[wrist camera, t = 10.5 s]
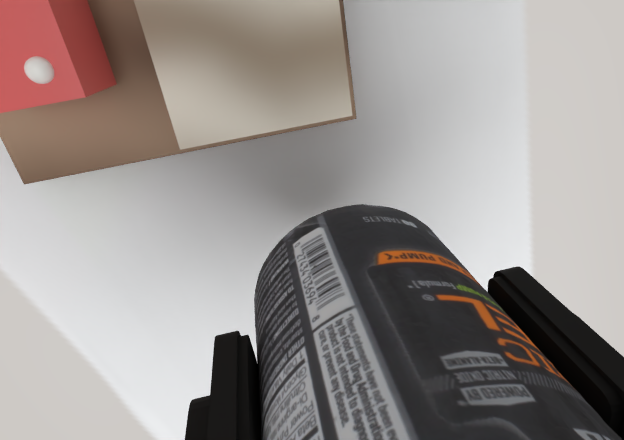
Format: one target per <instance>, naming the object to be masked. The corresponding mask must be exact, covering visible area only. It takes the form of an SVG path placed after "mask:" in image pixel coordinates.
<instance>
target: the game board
mask: <svg viewBox="0 0 624 440" xmlns="http://www.w3.org/2000/svg"><path fill="white" fill-rule="evenodd" d="M87 1H88V4H89V7H90V10H91V12H92V15H93V18H94V21H95V24H96V27H97V29H98V32H99V35H100V38H101V41H102V43H103V46H104V49H105V52H106V55H107V58H108V60H109V63H110V66H111V69H112V72H113V75H114V77H115V80H116V83H117V84H116V85H114V86H111V87H109V88H107V89H104V90H102V91H100V92H97V93H95V94H92V95H90V96H88V97H85V98H79V99H74V100H68V101H63V102H58V103H52V104H47V105H42V106H36V107H31V108H25V109H20V110H15V111H9V112H4V113H0V137H1V139H2V141H3V143H4V145H5V147H6V149H7V151H8V153H9V155H10V157H11V159H12V161H13V163H14V165H15V167H16V169H17V171H18V173H19V175H20V177H21V179H22V181H23V183H24V184H28V183H33V182H38V181H44V180H49V179H54V178H59V177H64V176H69V175H74V174H79V173H84V172H89V171H94V170H99V169H104V168H109V167H114V166H119V165H124V164H129V163H134V162H139V161H145V160H150V159H155V158H160V157H165V156H170V155H175V154H180V153H185V152H190V151H195V150H200V149H205V148H210V147H215V146H220V145H225V144H230V143H235V142H240V141H246V140H251V139H256V138H261V137H266V136H271V135H276V134H281V133H286V132H291V131H296V130H301V129H306V128H311V127H316V126H321V125H326V124H331V123H336V122H341V121H346V120H352V119H356V111H355V102H354V94H353V85H352V76H351V67H350V59H349V50H348V41H347V32H346V23H345V15H344V6H343V0H87Z"/></svg>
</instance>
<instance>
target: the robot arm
mask: <svg viewBox="0 0 624 440" xmlns="http://www.w3.org/2000/svg"><path fill="white" fill-rule="evenodd" d="M488 293H489V294H490V296H491V297H492V298H493V299H494V300H495V302H496V303H497V304H498V305H499V306H500V307H501V308H502V309H503V311H504V312H505V313H506V314H507V315H508V316H509V317H510V318H511V319H512V320H513V321H514V322H515V323H516V324H517V325H518V327H519V328H520V329H521V330H522V331H523V332H524V333H525V335H526V336H527V337H528V338H529V339H530V340H531V341H532V343H533V344H534V345H535V346H536V347H537V348H538V349H539V350H540V351H541V352H542V354H543V355H544V356H545V357H546V358H547V359H548V360H549V361H550V362H551V363H552V364H553V366H554V367H555V368H556V370H557V371H558V372H559V373H560V374H561V375H562V376H563V377H564V378H565V379H566V380H567V381H568V382H569V383H570V384H571V385H572V387H573V388H574V389H575V390H577V391H578V392H579V393H580V394H581V396H582V397H583V398H584V400H585V401H586V402H587V403H588V404H589V405H590V406H591V407H592V408H593V409H594V410H595V411H596V412H597V413H598V414H599V416H600V417H601V418H602V419H603V420H604V422H605V423H606V424H607V425H608V426H609V427H610V428H611V429H612V430H613V431H614V432H615V433H616V434H617V435H618V436H619V437H621V439H622V440H624V357H623V356H622V355H621V354H619V353H618V352H617V351H616V350H615V349H614V348H613V347H611V346H610V345H609V344H608V343H607V342H606V341H605V340H604V339H603V338H601V337H600V336H599V335H598V334H597V333H596V332H595V331H594V330H592V329H591V328H590V327H589V326H588V325H587V324H586V323H585V322H584V321H582V320H581V319H580V318H579V317H578V316H576V315H575V314H574V313H572V312H571V311H570V310H568V308H566V307H565V306H564V305H563V304H562V303H561V302H560V301H559V300H557V299H556V298H555V297H554V296H553V295H552V294H551V293H549V291H547V290H546V289H545V288H544V287H543V286H542V285H541V284H540V283H538V282H537V281H536V280H535V279H534V278H533V277H532V276H531V275H530V274H528V273H527V272H526V271H525V270H524V269H523V268H521V267H513V268H509V269H505V270H500V271H497V272H495V274H494V277H493V278H491V279H490V280H489V282H488ZM258 376H259V375H258V364H257V361H256V358H255V354H254V351H253V348H252V345H251V341H250V338H249V336H248V335H244V336H241V335H240V333H239V331H235V332H230V333H226V334H222V335H217V336H216V337H215V341H214V354H213V367H212V380H211V393H210V396H206V397H201V398H197V399H194V400H192V401H191V403H190V406H189V412H188V420H187V427H186V435H185V440H261V416H260V396H259V381H258Z"/></svg>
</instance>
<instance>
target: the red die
mask: <svg viewBox="0 0 624 440" xmlns="http://www.w3.org/2000/svg"><path fill="white" fill-rule="evenodd" d="M116 84H117V83H116V80H115V77H114V75H113V72H112V69H111V66H110V63H109V60H108V58H107V55H106V52H105V49H104V46H103V43H102V41H101V38H100V35H99V32H98V29H97V27H96V24H95V21H94V18H93V15H92V12H91V10H90V7H89V4H88V1H87V0H0V113H4V112H9V111H15V110H20V109H25V108H31V107H36V106H42V105H47V104H52V103H58V102H63V101H68V100H74V99H79V98H85V97H88V96H90V95H92V94H95V93H97V92H100V91H102V90H104V89H107V88H109V87H111V86H114V85H116Z"/></svg>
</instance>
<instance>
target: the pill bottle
mask: <svg viewBox="0 0 624 440" xmlns="http://www.w3.org/2000/svg"><path fill="white" fill-rule="evenodd" d="M254 303H255V327H256V343H257V363H258V375H259V376H258V381H259V396H260V416H261V440H622V439H621V437H619V436H618V435H617V434H616V433H615V432H614V431H613V430H612V429H611V428H610V427H609V426H608V425H607V424H606V423H605V422H604V420H603V419H602V418H601V417H600V416H599V414H598V413H597V412H596V411H595V410H594V409H593V408H592V407H591V406H590V405H589V404H588V403H587V402H586V401H585V400H584V398H583V397H582V396H581V394H580V393H579V392H578V391H577V390H575V389H574V388H573V387H572V385H571V384H570V383H569V382H568V381H567V380H566V379H565V378H564V377H563V376H562V375H561V374H560V373H559V372H558V371H557V370H556V368H555V367H554V366H553V364H552V363H551V362H550V361H549V360H548V359H547V358H546V357H545V356H544V355H543V354H542V352H541V351H540V350H539V349H538V348H537V347H536V346H535V345H534V344H533V343H532V341H531V340H530V339H529V338H528V337H527V336H526V335H525V333H524V332H523V331H522V330H521V329H520V328H519V327H518V325H517V324H516V323H515V322H514V321H513V320H512V319H511V318H510V317H509V316H508V315H507V314H506V313H505V312H504V311H503V309H502V308H501V307H500V306H499V305H498V304H497V303H496V302H495V300H494V299H493V298H492V297H491V296H490V294H489V293H488V292H487V291H486V290H485V289H484V288H483V287H482V286H481V285H480V284H479V283H478V282H477V281H476V280H475V278H474V277H473V276H472V275H471V274H470V273H469V272H468V270H467V269H466V268H465V267H464V266H463V265H462V264H461V263H460V261H459V260H458V259H457V258H456V257H455V256H454V255H453V254H452V253H451V251H450V250H449V249H448V248H447V247H446V246H445V245H444V244H443V243H442V242H441V241H440V240H439V238H438V237H437V236H436V235H435V234H434V233H433V232H432V230H431V229H430V228H429V227H428V226H426V225H425V224H424V223H422V222H421V221H419V220H418V219H417V218H415V217H413V216H411V215H409V214H407V213H406V212H403V211H400V210H397V209H394V208H390V207H383V206H373V205H364V204H362V205H352V206H345V207H341V208H336V209H332V210H328V211H326V212H323V213H321V214H318V215H316V216H314V217H311V218H309V219H308V220H306V221H304V222H303V223H301V224H300V225H298V226H297V227H295V228H294V229H293V230H291V231H290V232H289V233H288V234H287V235H286V236H285V237H284V238H283V239H282V240H281V241H280V242H279V243H278V244H277V245H276V246H275V248H274V249H273V250H272V251H271V253H270V254H269V256H268V257H267V259H266V261H265V262H264V264H263V266H262V269H261V271H260V273H259V277H258V281H257V285H256V289H255V298H254Z"/></svg>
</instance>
